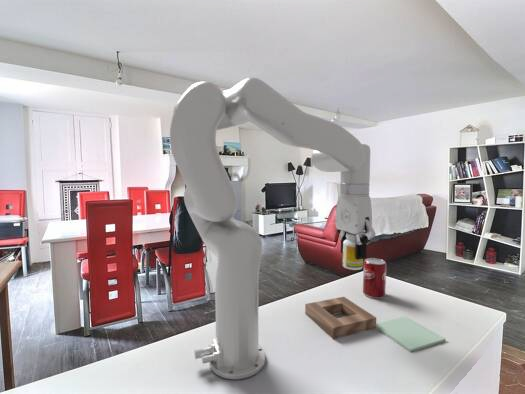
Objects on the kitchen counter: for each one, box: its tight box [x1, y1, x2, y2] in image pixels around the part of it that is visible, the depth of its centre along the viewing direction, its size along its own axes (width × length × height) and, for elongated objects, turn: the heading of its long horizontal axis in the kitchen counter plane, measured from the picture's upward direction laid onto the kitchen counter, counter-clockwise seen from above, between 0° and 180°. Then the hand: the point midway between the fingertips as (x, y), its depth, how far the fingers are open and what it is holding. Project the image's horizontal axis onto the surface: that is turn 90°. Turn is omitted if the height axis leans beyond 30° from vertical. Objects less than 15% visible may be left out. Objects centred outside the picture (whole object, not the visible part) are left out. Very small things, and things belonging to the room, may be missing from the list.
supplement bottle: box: [342, 232, 364, 271], centre depth 78 cm, size 5×5×10 cm
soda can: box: [362, 257, 387, 299], centre depth 98 cm, size 7×7×12 cm
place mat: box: [375, 316, 446, 353], centre depth 74 cm, size 12×12×1 cm
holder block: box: [304, 296, 377, 340], centre depth 81 cm, size 14×14×3 cm
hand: (352, 254), depth 78 cm, fingers closed on supplement bottle, 5 cm apart
